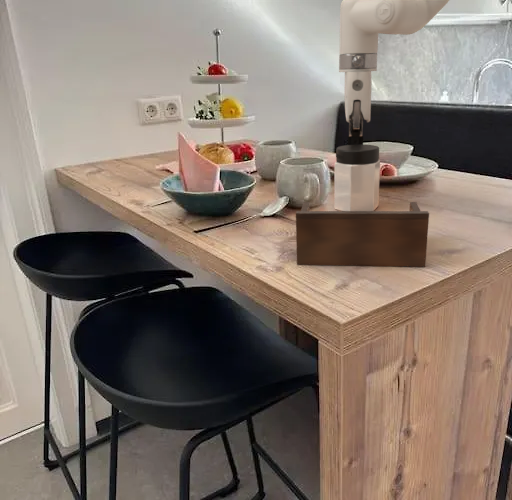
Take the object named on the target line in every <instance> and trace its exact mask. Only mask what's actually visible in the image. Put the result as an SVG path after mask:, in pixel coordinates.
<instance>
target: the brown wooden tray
mask: <svg viewBox="0 0 512 500" xmlns="http://www.w3.org/2000/svg"><path fill="white" fill-rule="evenodd" d="M310 205H311V204H310V201H303V203H302V205H301V209H300V210H296V211H295V236H296V237H295V238H296V243H295V245H296V265H300V266H301V265H304V266H305V265H307V266H354V267H355V266H357V267H358V266H359V267H403V266H407V268H413V267H414V268H425V267H426V263H427V261H426V260H427V248H428V237H429V236H428V234H429V223H430V222H429V220H430V212H429V211H428V210H421V208H420V206H419V204H418V203H417V201H410V202H409V210H374V211H340V210H311V206H310ZM409 266H411V267H409ZM416 266H417V267H416ZM422 266H424V267H422Z"/></svg>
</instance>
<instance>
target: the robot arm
mask: <svg viewBox="0 0 512 500" xmlns="http://www.w3.org/2000/svg"><path fill="white" fill-rule="evenodd" d="M448 2H450V0H342V1H341V3H340V6H339V7H340V9H339V55H338V56H339V58H338V72H339V73H344V112H345V121H346V122H347V123H348V135H347V145H364V135H363V128H364V121H366V123H370V122H371V111H372V109H371V108H372V72H377V71H378V50H379V49H378V47H379V46H378V45H379V34H383V35H396V36H397V35H403V36H404V35H405V36H408V35H412V34H415V33H417V32H419V31H420V30H422V29H423V28H424V27H425V26H426V25H428V23H429V22H431V21H432V19H434V18H435V17H436V16H437V15H438V14H439V12H440V11H441V10H442V9H443V8H444V7H445V6H446V5H447V4H448Z"/></svg>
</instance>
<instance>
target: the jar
mask: <svg viewBox="0 0 512 500" xmlns="http://www.w3.org/2000/svg"><path fill="white" fill-rule="evenodd" d="M335 151H336V152H335V161H334V167H333V169H334V180H333V181H334V185H333V186H334V189H333V191H334V196H333V197H334V198H333V199H334V200H333V202H334V203H333V204H334V205H333V208H334V210H335V211H376V209H377V208H378V207H379V204H380V203H379V201H380V175H381V173H380V172H381V159H380V147H379V146H378V145H374V144H363V145H348V144H347V145H339V146H338V147H336V149H335Z"/></svg>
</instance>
